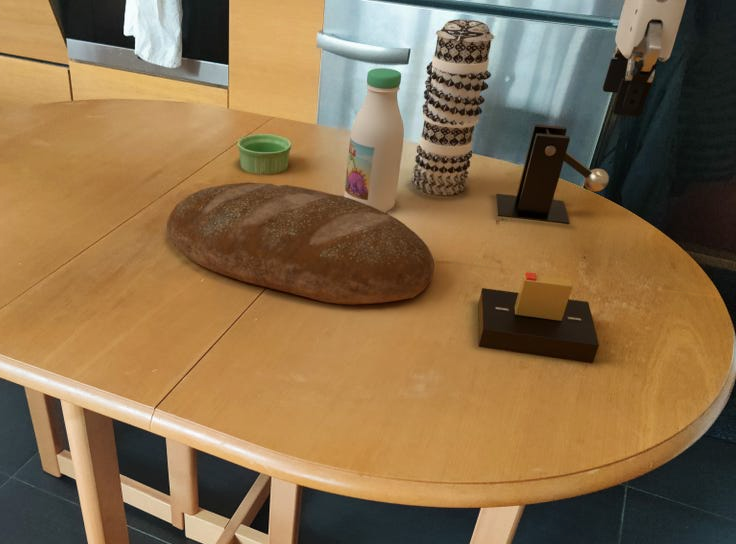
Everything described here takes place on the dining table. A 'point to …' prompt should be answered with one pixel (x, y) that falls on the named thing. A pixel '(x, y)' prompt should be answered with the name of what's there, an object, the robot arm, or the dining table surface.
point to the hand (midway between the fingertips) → (620, 103)
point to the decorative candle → (452, 106)
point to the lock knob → (543, 296)
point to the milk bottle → (376, 143)
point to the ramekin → (264, 153)
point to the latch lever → (586, 172)
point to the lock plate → (536, 329)
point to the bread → (302, 243)
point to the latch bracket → (539, 179)
